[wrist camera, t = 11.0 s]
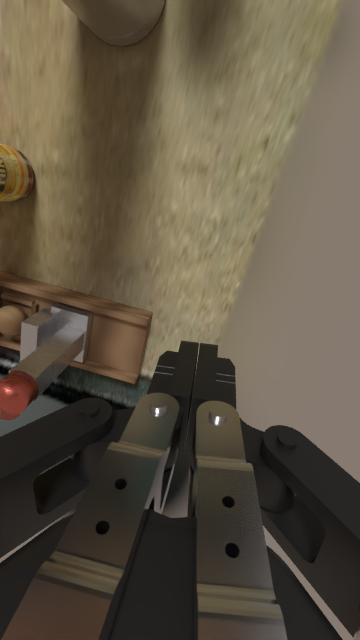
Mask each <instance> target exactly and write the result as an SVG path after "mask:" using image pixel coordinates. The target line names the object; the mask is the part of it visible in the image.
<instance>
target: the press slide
mask: <svg viewBox="0 0 360 640" xmlns="http://www.w3.org/2000/svg"><path fill="white" fill-rule="evenodd" d="M92 315H93V313H92V312H89V311H85V310H81V309H78V308H74V307H71V306H67V305H63V304H60V303H56V304H55V305H53V306H52V308H51V310H50V309H46V308H43V309H42V310H40V311H39V312H37V313H35V314H34V315H32V316H31V317H29V318H27V319H26V320H24V321H23V322H22V326H21V348H20V362H19V363H18V364H17V365H16V366H14V367H13V368H12V369H11V370H9V374H7V375H6V376H5V377H4V378H2V379H1V380H0V418H1V419H4V420H13V419H15V418H17V417H18V416H19V415H20V414H21V413H22V412H23V411H24V410H25V408H27V406H28V405H29V404H30V403H31V402H32V401H35V400H36V399H37V398H38V397H39V396H40V395H41V393H42V392H43V391H44V390H45V389H46V388H47V387H48V386H49V385H50V384H51V383H52V382H53V381H54V380H55V379H56V378H57V377H58V376H59V374H60V373H61V372H62V371H63V370H64V369H65V368H66V367H67V366H68V365H69V364H70V363H71V362H72V361H73V360H74V361H78V362H81V363H83V361H84V360H85V359H86V358H87V353H88V345H89V338H90V330H91V323H92Z"/></svg>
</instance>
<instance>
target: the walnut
mask: <svg viewBox="0 0 360 640" xmlns="http://www.w3.org/2000/svg"><path fill="white" fill-rule="evenodd" d="M26 319H27V316H26V314H25V312H24V311H23V310H22V309H21V308H19V307H17V306H13V305H8V306H4V307H2V308H0V332H1V333H2V334H5V335H16V334H18V333H20V332H21V326H22V322H23V321H24V320H26Z"/></svg>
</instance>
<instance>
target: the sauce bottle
mask: <svg viewBox="0 0 360 640" xmlns="http://www.w3.org/2000/svg"><path fill="white" fill-rule="evenodd" d="M33 182H34V174H33V169H32V167H31V165H30V163H29V161H28V160H27V158H26V157H25V156H24V155H23V154H22V153H21V152H20V151H17V150H15V149H13V148H12V147H10V146H8V145H4V144H0V201H14V200H20V199H23V198H25V197H26V196H27V195H28V194H29V193H30V191H31V190H32V187H33Z"/></svg>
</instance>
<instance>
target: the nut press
mask: <svg viewBox="0 0 360 640" xmlns="http://www.w3.org/2000/svg"><path fill="white" fill-rule="evenodd" d="M56 303H60V304H63V305H67V306H71V307H74V308H78V309H81V310H85V311H89V312H92V313H93V315H92V323H91V330H90V338H89V345H88V353H87V358H86V359H85V360H84V361H83V363H81V362H78V361H74V360H73V361H72V362H71V363H70V364H69V365H70V366H73V367H77V368H80V369H84V370H87V371H91V372H94V373H98V374H101V375H105V376H108V377H112V378H115V379H119V380H122V381H125V382H129V383H132V384H135V382H136V380H137V379H138V377H139V375H140V370H141V366H142V361H143V356H144V351H145V346H146V342H147V337H148V332H149V327H150V322H151V318H152V312H148V311H145V310H141V309H137V308H134V307H130V306H126V305H123V304H119V303H115V302H112V301H108V300H104V299H101V298H97V297H93V296H90V295H86V294H83V293H79V292H75V291H72V290H68V289H64V288H61V287H57V286H53V285H50V284H46V283H42V282H39V281H35V280H31V279H28V278H24V277H20V276H17V275H13V274H9V273H6V272H2V271H0V308H2V307H4V306H8V305H13V306H17V307H19V308H21V309H22V310H23V311H24V312H25V314H26V316H27V318H29V317H31V316H32V315H34V314H35V313H37V312H39V311H40V310H42V309H43V308H46V309H50V310H51V308H52V306H53V305H55V304H56ZM0 345H1V346H4V347H8V348H11V349H14V350H18V351H20V348H21V332H20V333H18V334H16V335H5V334H2V333H1V332H0Z"/></svg>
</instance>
